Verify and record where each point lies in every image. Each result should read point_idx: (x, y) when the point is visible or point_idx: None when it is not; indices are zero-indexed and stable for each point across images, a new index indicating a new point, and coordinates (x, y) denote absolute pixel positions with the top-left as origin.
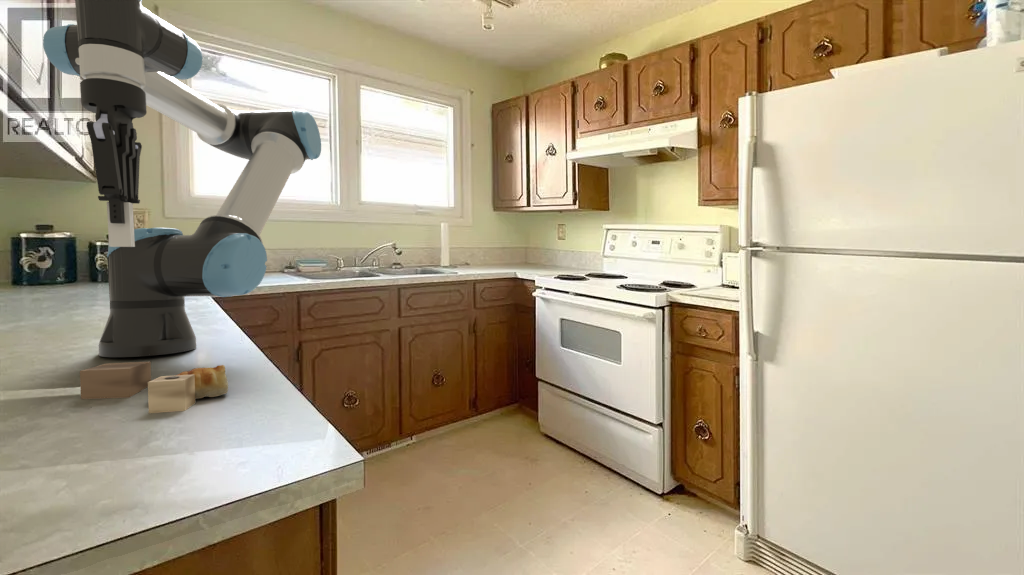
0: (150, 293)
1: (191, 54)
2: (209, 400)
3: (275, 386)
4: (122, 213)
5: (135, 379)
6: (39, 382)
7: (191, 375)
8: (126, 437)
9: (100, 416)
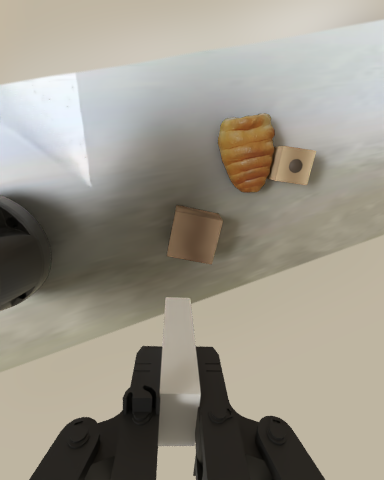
0: None
1: None
2: None
3: (225, 60)
4: (211, 369)
5: (209, 215)
6: (78, 322)
7: (289, 148)
8: (369, 179)
9: (282, 218)
